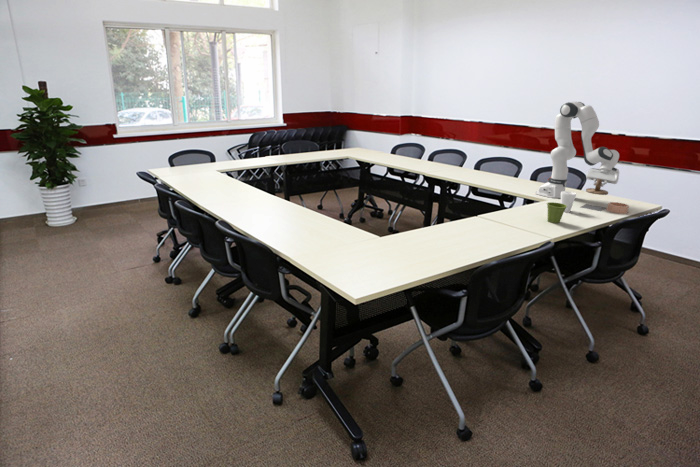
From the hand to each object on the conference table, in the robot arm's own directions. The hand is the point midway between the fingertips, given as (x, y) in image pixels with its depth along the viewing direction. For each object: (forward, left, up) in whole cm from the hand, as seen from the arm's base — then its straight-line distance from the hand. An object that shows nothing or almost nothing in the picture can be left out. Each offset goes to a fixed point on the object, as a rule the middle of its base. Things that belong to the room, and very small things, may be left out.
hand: (598, 185), depth 313 cm
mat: (0, +1, -17) cm, 17 cm away
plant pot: (-6, -57, -17) cm, 60 cm away
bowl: (+14, +5, -17) cm, 22 cm away
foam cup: (-11, -24, -17) cm, 32 cm away
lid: (0, +1, -5) cm, 5 cm away
